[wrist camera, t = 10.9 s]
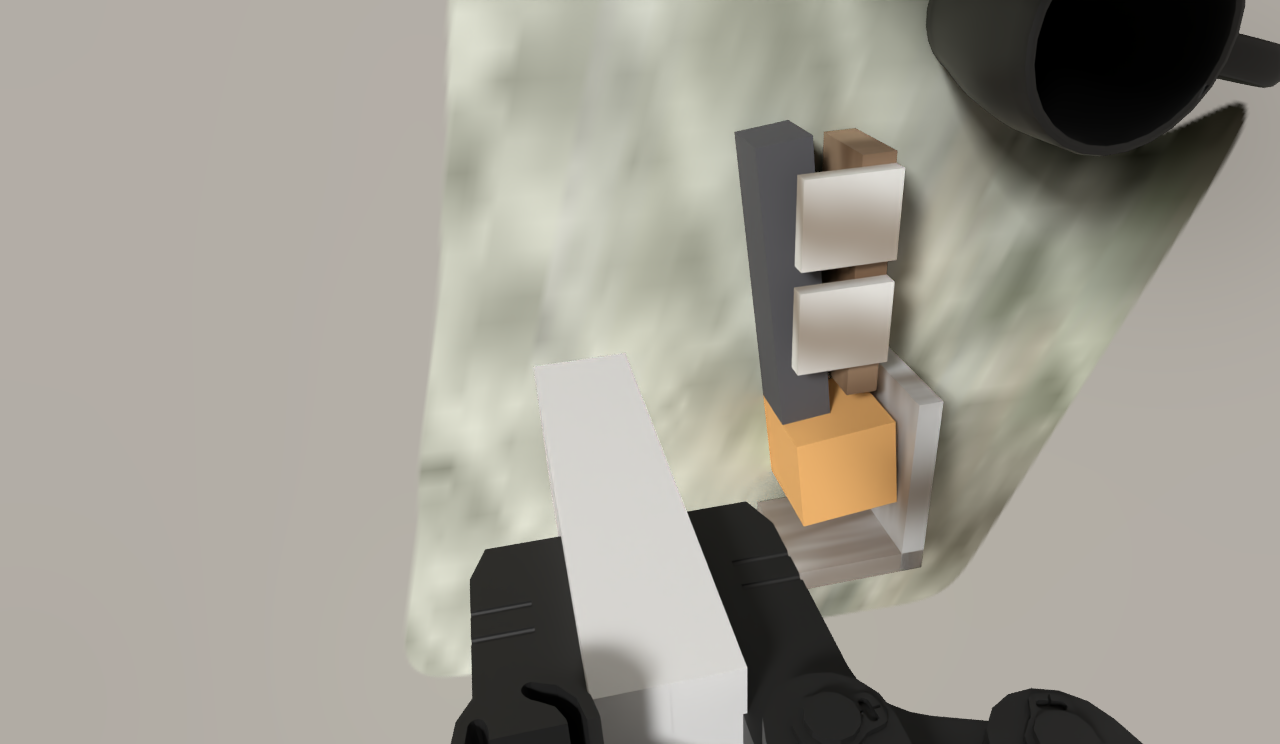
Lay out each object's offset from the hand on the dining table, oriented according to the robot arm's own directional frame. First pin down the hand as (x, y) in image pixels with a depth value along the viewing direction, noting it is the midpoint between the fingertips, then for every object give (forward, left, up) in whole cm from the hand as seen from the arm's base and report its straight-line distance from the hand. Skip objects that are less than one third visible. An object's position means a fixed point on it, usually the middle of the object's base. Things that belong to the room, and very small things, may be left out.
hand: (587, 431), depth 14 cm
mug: (-2, +23, -25) cm, 34 cm away
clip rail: (+13, +15, -24) cm, 31 cm away
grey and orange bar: (+11, +13, -25) cm, 30 cm away
